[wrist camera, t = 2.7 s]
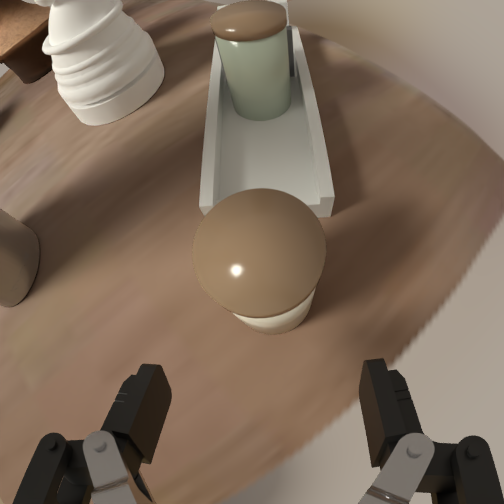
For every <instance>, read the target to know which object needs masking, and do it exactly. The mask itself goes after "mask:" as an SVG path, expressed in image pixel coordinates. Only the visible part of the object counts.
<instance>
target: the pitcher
mask: <svg viewBox="0 0 504 504" xmlns="http://www.w3.org/2000/svg"><path fill="white" fill-rule="evenodd" d="M50 9H51V8H50V7H49V6H47V7H43V6H40V5H38V4H30V3H27V2H24V1H22V0H0V63H1V64H2V63H4V64H5V65H6V66H7V67H9V68H10V69H11V70H13V71H14V72H15V73H16V74H17V75H18V76H19V78H20V79H21V80H22V81H23V83H25V84H28V83H31V82H34V81H36V80H37V79H39V78H41V77H42V76H43V75H45V74H46V73H47V72H49V71H50V70H51V69H52V57H51V55H46V54H45V53H44V52H43V51H42V46H43V43H44V41H45V39H46V37H47V36H48V35H49V29H48V26H49V14H50Z"/></svg>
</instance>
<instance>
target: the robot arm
mask: <svg viewBox="0 0 504 504" xmlns="http://www.w3.org/2000/svg"><path fill="white" fill-rule="evenodd" d="M39 253H40V251H39V243H38V239H37V236H36V235H35V233H34V232H33V231H32V230H31V229H30V228H29V227H27V226H25V225H24V224H22V223H21V222H19V221H18V220H16V219H15V218H13V217H12V216H10V215H9V214H8V213H6V212H5V211H3V210H2V209H0V305H1V306H4V307H12V306H14V305H16V304H18V303H19V302H20V301H21V300H22V299H23V298H24V297H25V296H26V294H27V293H28V291H29V289H30V288H31V286H32V283H33V281H34V279H35V276H36V273H37V269H38V264H39ZM118 393H119V394H117V396H116V398H115V402H114V403H113V405H112V407H111V409H110V411H109V413H108V415H107V417H106V419H105V421H104V424H103V426H102V428H101V430H100V431H95V432H93V433H91V434H89V435H88V436H87V437H86V439H85V440H71V441H67V440H66V439H65V438H64V437H63V436H62V435H61V434H59V433H49V434H47V435H45V436H44V437H43V438H42V439H41V440H40V442H39V444H38V446H37V448H36V451H35V453H34V455H33V457H32V459H31V461H30V464H29V466H28V468H27V470H26V473H25V475H24V477H23V480H22V482H21V484H20V487H19V489H18V491H17V494H16V496H15V499H14V501H13V504H89V503H90V500H91V497H92V500H93V503H94V504H156V502H155V500H154V498H153V496H152V494H151V492H150V490H149V488H148V486H147V484H146V482H145V480H144V478H143V476H142V473H141V471H140V470H139V468H140V465H141V463H146V464H151V462H152V459H153V455H154V452H155V449H156V446H157V443H158V440H159V437H160V434H161V431H162V428H163V425H164V422H165V418H166V415H167V412H168V409H169V406H170V403H171V399H172V392H171V388H170V386H169V383H168V381H167V378H166V376H165V373H164V371H163V368H162V366H161V365H156V364H142V365H141V366H140V368H139V370H138V372H137V374H136V375H131V376H130V377H129V378H128V379H127V380H126V381H124V382H123V384H122V386H121V388H120V390H119V392H118ZM359 399H360V404H361V409H362V414H363V419H364V425H365V430H366V436H367V441H368V447H369V453H370V459H371V466H372V468H373V467H379V466H380V470H381V472H380V473H379V475H378V476H377V478H376V479H375V481H374V482H373V484H372V485H371V487H370V488H369V489H368V490H367V492H366V493H365V494H364V496H363V497H362V499H361V500H360V502H359V503H358V504H409V502H410V500H411V498H412V496H413V494H414V492H423V493H431V497H432V504H504V498H503V494H502V490H501V486H500V482H499V479H498V475H497V471H496V468H495V464H494V461H493V457H492V454H491V451H490V448H489V445H488V443H487V442H486V441H485V440H484V439H483V438H481V437H479V436H468V437H465V438H464V439H462V440H461V441H460V442H459V443H458V444H450V443H449V444H448V443H437V442H434V441H432V440H431V439H430V438H429V437H428V436H426V435H425V434H424V433H423V431H422V429H421V425H420V422H419V419H418V416H417V413H416V410H415V407H414V404H413V401H412V400H411V395H410V392H409V391H408V386H407V383H406V381H405V378H404V377H403V376H402V375H401V374H400V373H399V372H398V371H397V370H390V371H388V369H387V366H386V363H385V361H384V359H383V358H380V359H372V360H365V361H364V363H363V368H362V374H361V379H360V385H359ZM63 476H64V477H63ZM62 478H63V479H62ZM61 481H62V482H61ZM60 483H61V485H60ZM59 486H60V487H59ZM58 489H59V490H58ZM57 492H58V493H57Z"/></svg>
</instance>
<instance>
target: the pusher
mask: <svg viewBox="0 0 504 504" xmlns="http://www.w3.org/2000/svg"><path fill="white" fill-rule="evenodd" d="M286 30H287V42H288V55H289V70H290V77H295V71H294V52H293V35H292V27H291V26H286ZM215 40H216V37H215ZM216 44H217V41H216ZM217 48H218V44H217ZM218 51H219V48H218ZM219 55H220V52H219ZM220 59H221V56H220ZM221 63H222V60H221ZM222 67H223V63H222ZM223 71H224V67H223ZM224 74H225V71H224ZM225 78H226V75H225ZM226 82H227V79H226Z"/></svg>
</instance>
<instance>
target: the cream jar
mask: <svg viewBox="0 0 504 504" xmlns="http://www.w3.org/2000/svg"><path fill="white" fill-rule="evenodd" d="M325 259H326V239H325V235H324V231H323V228H322V226H321V224H320V222H319V220H318V218H317V216H316V215H315V214H314V212H313V211H312V210H311V209H310V208H309V207H308V206H307V205H306V204H305V203H304V202H302V201H301V200H300V199H298V198H296V197H295V196H293V195H291V194H288V193H286V192H283V191H279V190H275V189H268V188H256V189H249V190H244V191H241V192H237V193H235V194H233V195H230V196H228V197H227V198H225V199H223V200H222V201H220V202H219V203H218V204H216V205H215V206H214V207H213V208H212V209H211V210H210V211H209V212H208V213H207V214H206V216H205V217H204V218H203V220H202V221H201V223H200V225H199V227H198V229H197V231H196V234H195V237H194V241H193V247H192V261H193V267H194V271H195V274H196V276H197V279H198V281H199V283H200V284H201V286H202V287H203V289H204V290H205V292H206V293H207V294H208V295H209V296H210V297H211V298H212V299H213V300H214V301H216V302H217V303H218V304H219V305H221V306H222V307H223V308H225V309H226V310H228V311H230V312H232V313H233V314H234V315H235V316H237V317H238V318H239V319H240V320H241V321H243V322H244V323H245V324H246V325H247V326H249V327H250V328H251V329H253V330H255V331H257V332H259V333H263V334H268V335H277V334H282V333H286V332H288V331H291V330H292V329H294V328H296V327H297V326H298V325H299V324H300V323H301V322H302V321H303V320H304V319H305V317H306V316H307V314H308V312H309V309H310V306H311V303H312V299H313V296H314V292H315V288H316V286H317V284H318V282H319V280H320V277H321V274H322V271H323V268H324V264H325Z"/></svg>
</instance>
